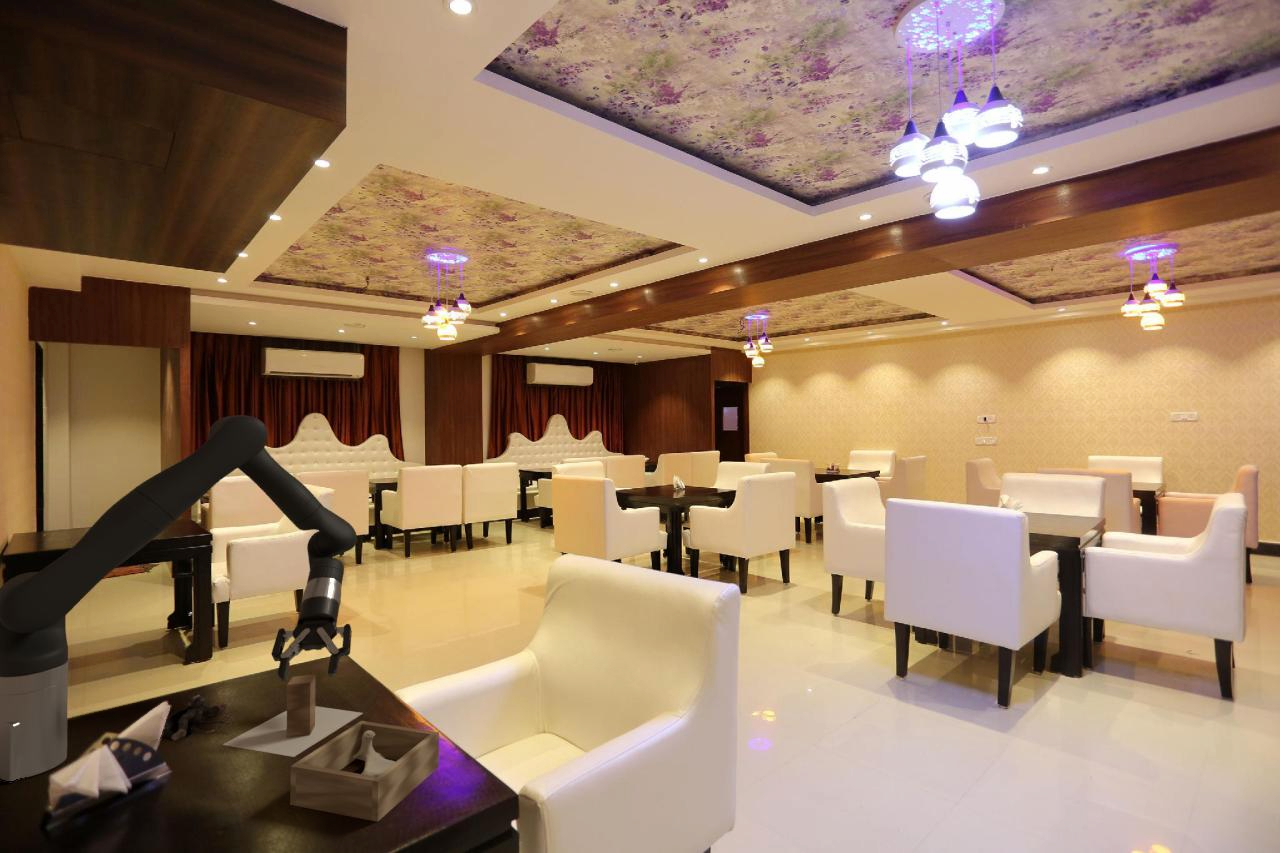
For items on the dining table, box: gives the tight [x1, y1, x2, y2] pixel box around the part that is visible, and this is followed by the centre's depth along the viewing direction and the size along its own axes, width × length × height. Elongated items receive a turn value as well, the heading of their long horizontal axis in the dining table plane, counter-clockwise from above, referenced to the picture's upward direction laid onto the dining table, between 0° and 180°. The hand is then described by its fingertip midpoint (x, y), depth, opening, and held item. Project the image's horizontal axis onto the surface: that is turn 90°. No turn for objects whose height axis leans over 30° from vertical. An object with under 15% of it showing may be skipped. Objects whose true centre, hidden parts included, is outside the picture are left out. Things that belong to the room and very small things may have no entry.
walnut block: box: [286, 674, 317, 738], centre depth 121 cm, size 4×4×10 cm
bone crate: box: [289, 720, 440, 822], centre depth 104 cm, size 16×16×6 cm
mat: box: [222, 705, 364, 758], centre depth 122 cm, size 18×16×1 cm
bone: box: [353, 730, 396, 777], centre depth 105 cm, size 10×6×10 cm
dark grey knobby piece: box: [163, 694, 235, 741], centre depth 125 cm, size 12×10×12 cm
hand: (307, 677), depth 125 cm, fingers open, 8 cm apart
